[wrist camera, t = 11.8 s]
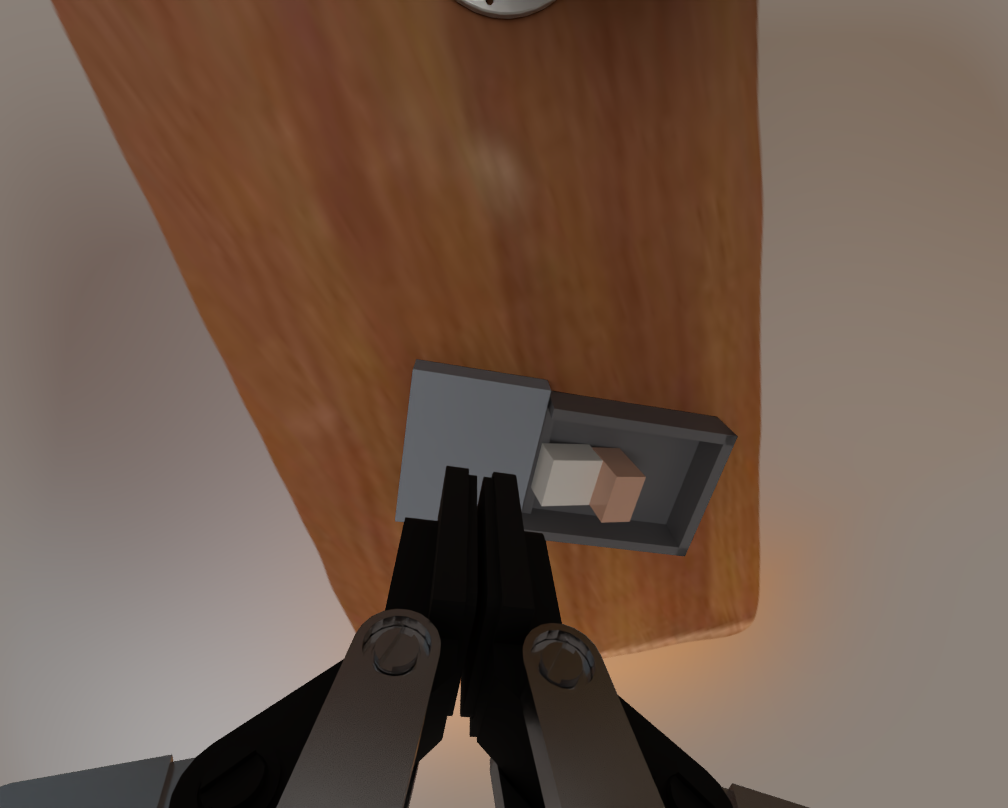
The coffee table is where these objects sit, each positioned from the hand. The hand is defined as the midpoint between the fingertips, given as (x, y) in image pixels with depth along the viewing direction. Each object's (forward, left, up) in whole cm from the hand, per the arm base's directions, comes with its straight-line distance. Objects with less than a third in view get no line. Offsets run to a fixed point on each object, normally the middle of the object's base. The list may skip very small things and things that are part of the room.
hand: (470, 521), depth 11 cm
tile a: (+16, +11, -30) cm, 36 cm away
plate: (+16, +2, -31) cm, 35 cm away
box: (+16, +17, -31) cm, 39 cm away
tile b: (+16, +14, -28) cm, 35 cm away
